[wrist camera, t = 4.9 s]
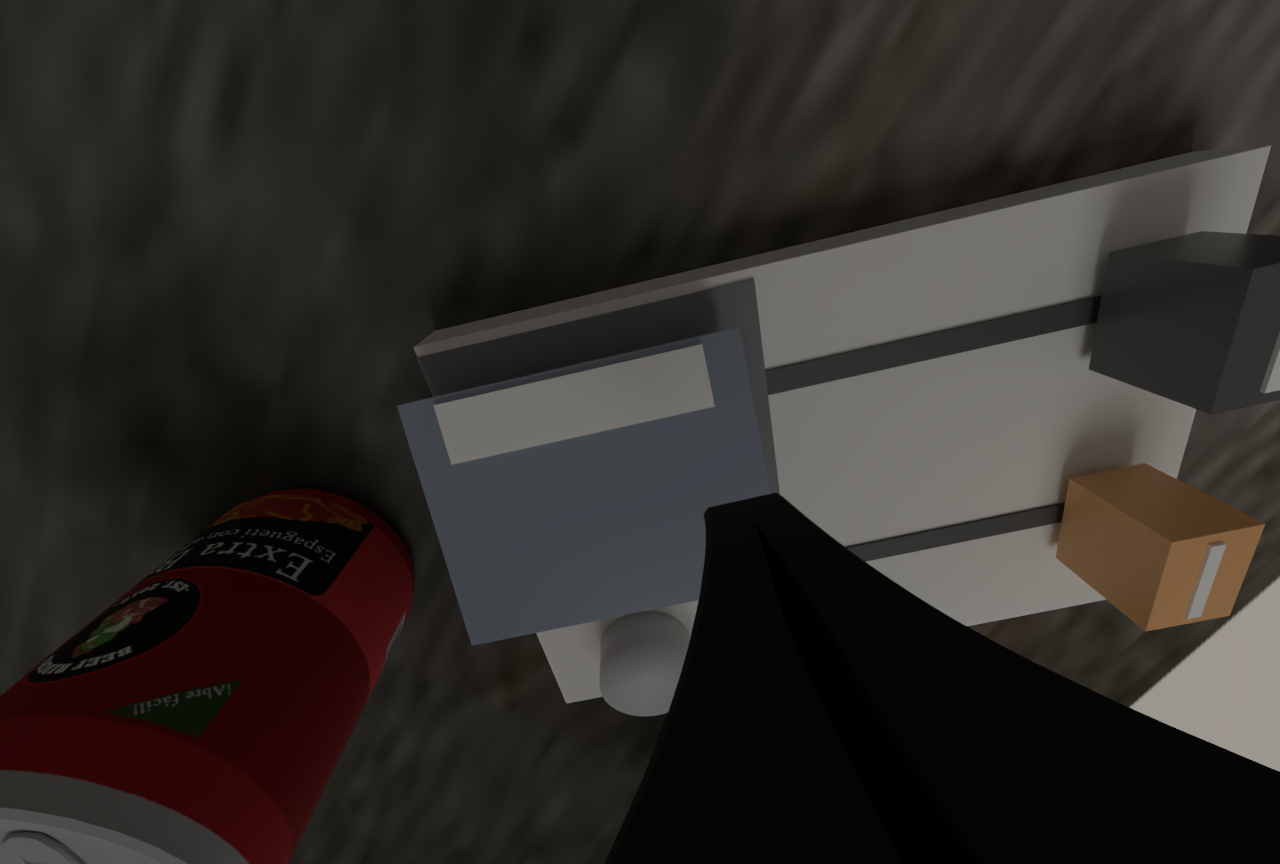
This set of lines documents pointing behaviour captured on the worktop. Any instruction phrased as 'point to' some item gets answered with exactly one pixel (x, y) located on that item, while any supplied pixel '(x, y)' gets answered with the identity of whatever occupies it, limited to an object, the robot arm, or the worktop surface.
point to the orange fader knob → (1156, 545)
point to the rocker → (586, 482)
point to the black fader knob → (1194, 319)
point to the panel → (899, 390)
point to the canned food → (207, 693)
